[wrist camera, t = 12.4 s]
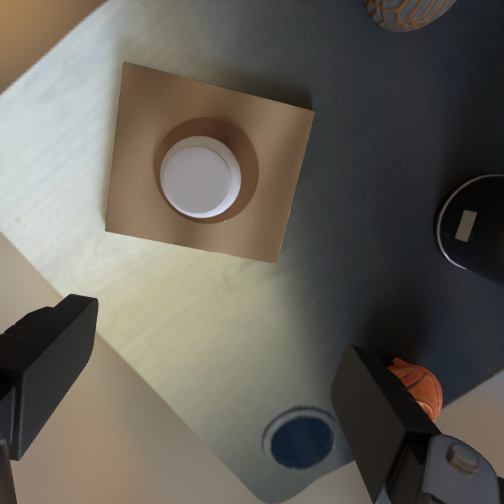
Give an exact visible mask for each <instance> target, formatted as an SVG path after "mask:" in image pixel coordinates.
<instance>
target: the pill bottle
mask: <svg viewBox="0 0 504 504" xmlns="http://www.w3.org/2000/svg"><path fill="white" fill-rule="evenodd" d="M160 181H161V186H162V189H163V192H164V194H165V196H166V197H167V199H168V200H169V202H170V203H171V204H172V205H173V206H174V207H175V208H176V209H177V210H179V211H180V212H182V213H184V214H186V215H188V216H192V217H196V218H207V217H212V216H215V215H218V214H220V213H222V212H224V211H225V210H226V209H228V208H229V207H230V206H231V205H232V203H233V202H234V201H235V199H236V197H237V195H238V193H239V190H240V186H241V172H240V167H239V164H238V162H237V160H236V158H235V156H234V154H233V153H232V152H231V150H230V149H229V148H228V147H227V146H226V145H225V144H223V143H222V142H220V141H218V140H216V139H214V138H210V137H206V136H192V137H188V138H185V139H183V140H181V141H179V142H178V143H176V144H175V145H174V146H172V147H171V148H170V150H169V151H168V152H167V154H166V155H165V157H164V159H163V162H162V165H161V170H160Z"/></svg>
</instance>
